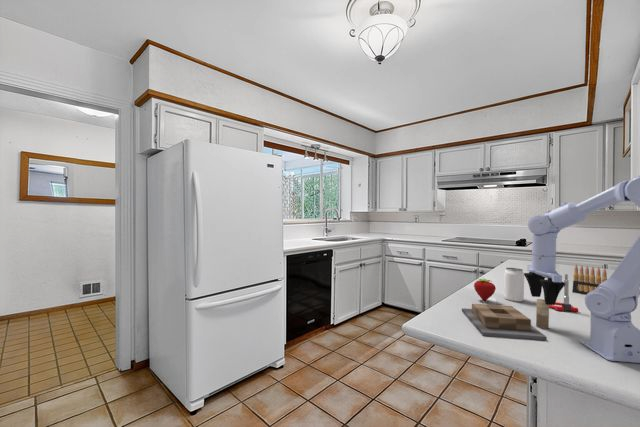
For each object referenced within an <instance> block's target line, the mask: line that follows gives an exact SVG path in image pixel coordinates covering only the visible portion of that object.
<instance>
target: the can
mask: <svg viewBox="0 0 640 427" xmlns="http://www.w3.org/2000/svg"><path fill="white" fill-rule="evenodd" d="M524 273H525V272H524V271H523V268H517V267H506V268H505V270H504V275H503V276H504V281H503V282H504V284H503V286H504V288H503V290H504V291H503V297H504V299H505V300H507V301H509V302H516V303H521V302H523V301H524V300H525V299H524V298H525V297H524V296H525V276H524Z"/></svg>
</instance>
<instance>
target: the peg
mask: <svg viewBox="0 0 640 427" xmlns="http://www.w3.org/2000/svg"><path fill="white" fill-rule="evenodd" d="M535 310H536V315H535V316H536V318H535V320H536V323H535V326H536V327H537V328H539V329H542V330H549V328H550V326H549V323H550V320H549V319H550V307H549V305H547V304H545V300H544V299H542V298H541V299H540V298H538V299H536V309H535Z"/></svg>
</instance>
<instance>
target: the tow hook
mask: <svg viewBox="0 0 640 427" xmlns="http://www.w3.org/2000/svg"><path fill="white" fill-rule="evenodd" d="M569 281H570V280H569V276H568V274H567V273H566V274H565V273H564V279H563V282H564V283H565V286H564V287H563V288H564V289H563V293H564V294H563V302H559V301H556V303H555V305H549V309H550V308H551V309H554V310H555V311H558V312H566V313H567V312H574V313H576V312H577V313H578V312H579V308H578V307H575V306H573V305H572V304H571V303H570V295H569V288H570V287H569V285H570V284H569Z"/></svg>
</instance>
